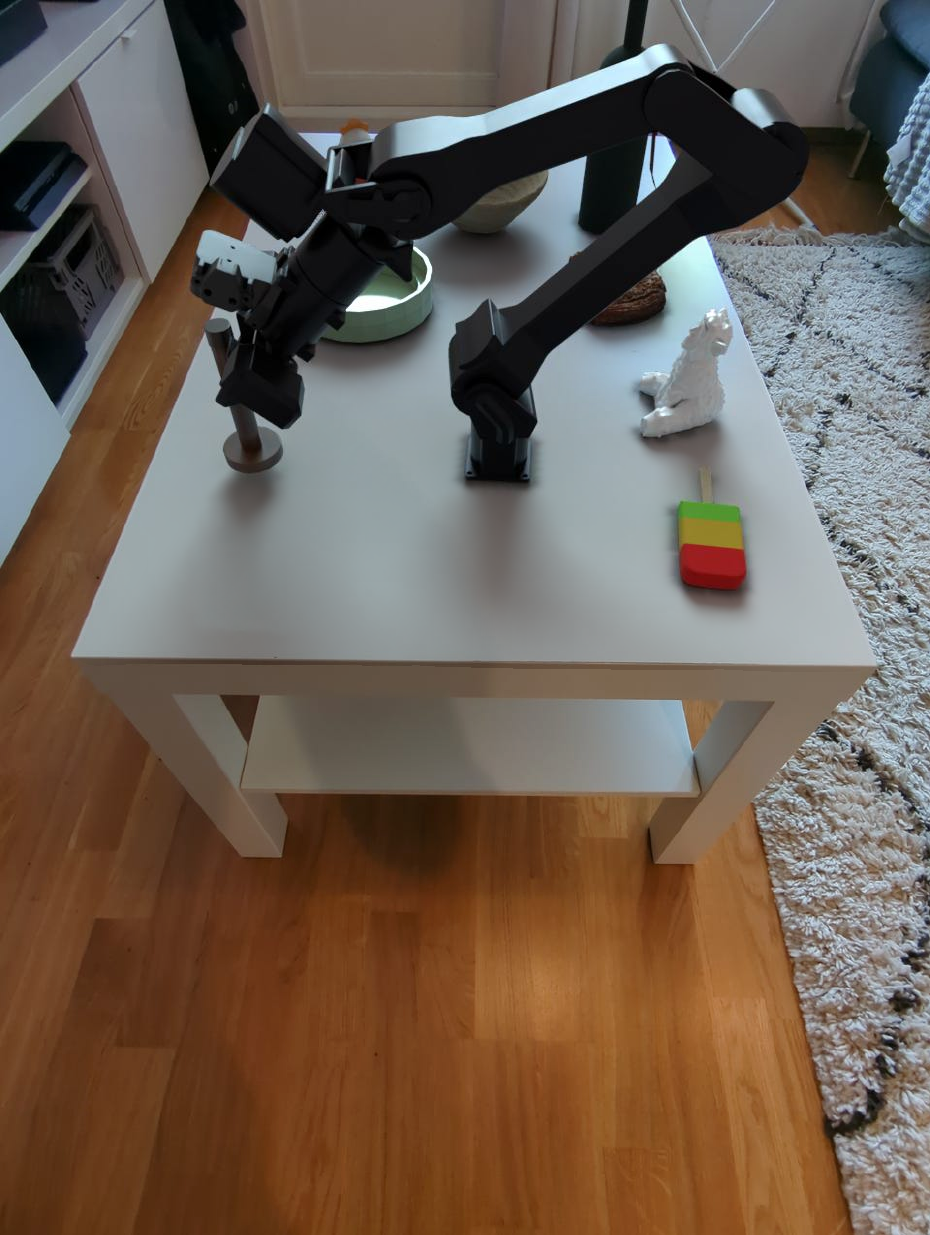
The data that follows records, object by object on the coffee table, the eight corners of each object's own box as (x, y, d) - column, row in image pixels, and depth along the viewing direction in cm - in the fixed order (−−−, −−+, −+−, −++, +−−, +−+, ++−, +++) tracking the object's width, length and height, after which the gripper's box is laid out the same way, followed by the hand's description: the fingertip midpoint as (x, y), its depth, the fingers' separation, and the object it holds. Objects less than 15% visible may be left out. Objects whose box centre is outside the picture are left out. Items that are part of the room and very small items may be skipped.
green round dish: (425, 350, 87) (423, 314, 84) (280, 343, 88) (272, 308, 84) (439, 272, 98) (438, 238, 94) (309, 267, 98) (303, 233, 95)
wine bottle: (654, 235, 103) (712, -49, 79) (581, 236, 103) (617, -48, 79) (644, 208, 108) (696, -68, 84) (574, 209, 108) (606, -67, 84)
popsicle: (679, 586, 66) (684, 573, 65) (674, 471, 75) (679, 457, 74) (743, 593, 66) (749, 580, 64) (730, 477, 75) (736, 463, 73)
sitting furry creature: (636, 383, 84) (659, 280, 74) (715, 389, 83) (748, 286, 73) (639, 438, 78) (664, 335, 68) (723, 445, 77) (760, 342, 68)
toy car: (317, 185, 112) (306, 109, 104) (373, 175, 114) (366, 100, 106) (335, 212, 107) (324, 135, 99) (393, 201, 109) (387, 124, 101)
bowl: (566, 246, 102) (573, 184, 95) (440, 272, 98) (438, 209, 91) (512, 188, 112) (515, 128, 105) (395, 209, 108) (391, 149, 101)
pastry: (631, 268, 98) (639, 223, 94) (675, 317, 92) (686, 270, 87) (554, 282, 96) (558, 236, 92) (592, 333, 89) (600, 286, 85)
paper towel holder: (276, 475, 72) (241, 346, 61) (219, 472, 72) (173, 343, 61) (288, 436, 75) (257, 307, 64) (234, 434, 75) (193, 305, 64)
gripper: (251, 148, 60) (158, 282, 69) (217, 269, 49) (111, 411, 58) (360, 243, 67) (262, 355, 75) (351, 368, 56) (238, 483, 64)
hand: (222, 395), depth 68 cm, fingers closed on paper towel holder
